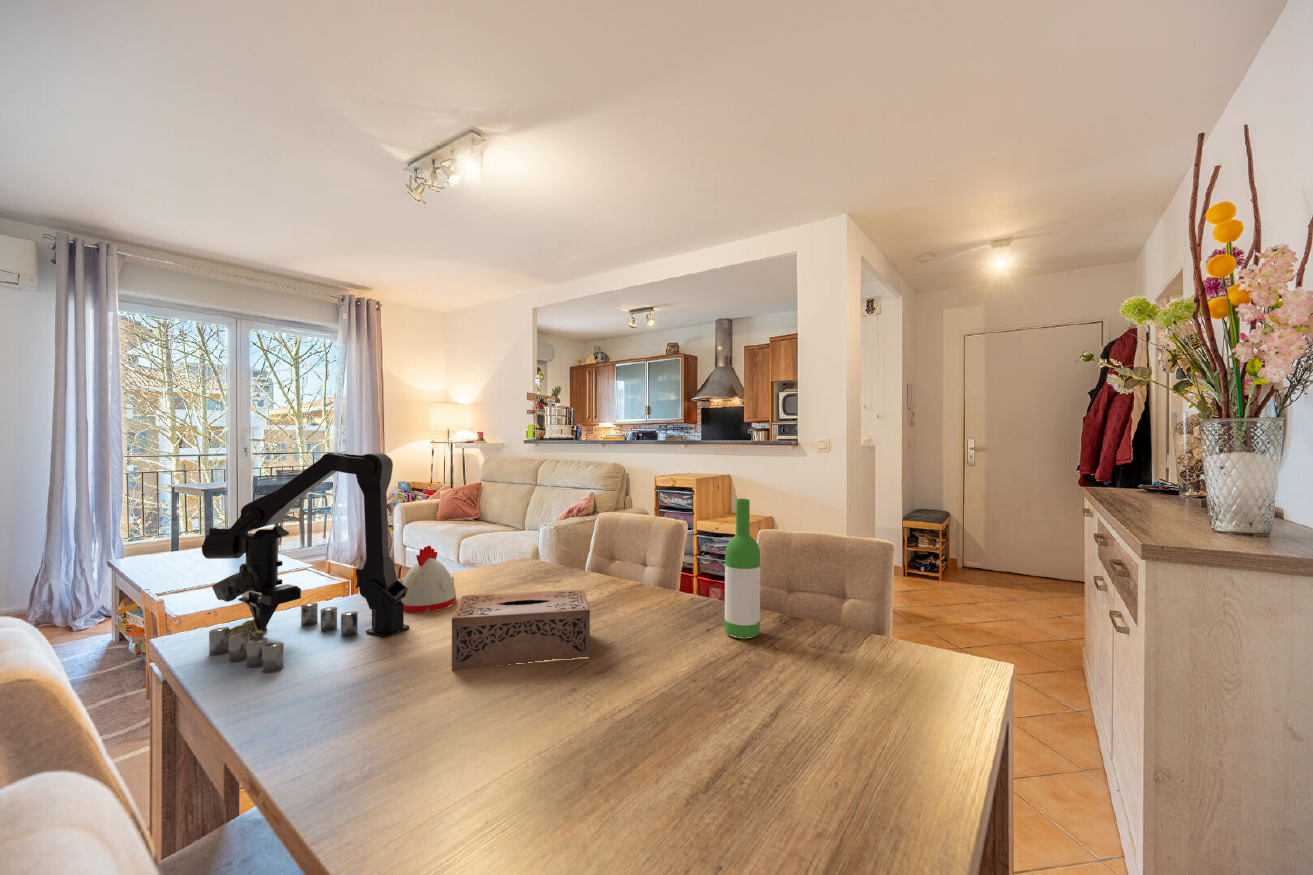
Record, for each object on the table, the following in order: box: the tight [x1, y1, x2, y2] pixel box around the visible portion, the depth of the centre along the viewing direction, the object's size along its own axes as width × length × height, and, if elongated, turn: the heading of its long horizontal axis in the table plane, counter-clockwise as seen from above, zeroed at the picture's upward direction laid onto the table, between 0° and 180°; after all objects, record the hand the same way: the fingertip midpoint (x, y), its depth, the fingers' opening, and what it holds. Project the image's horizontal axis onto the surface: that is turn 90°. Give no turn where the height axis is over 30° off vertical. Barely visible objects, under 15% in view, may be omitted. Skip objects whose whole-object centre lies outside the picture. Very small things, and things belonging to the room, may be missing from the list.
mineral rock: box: [230, 618, 268, 640], centre depth 117 cm, size 11×4×8 cm
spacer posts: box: [208, 602, 359, 674], centre depth 113 cm, size 21×21×4 cm
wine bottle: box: [724, 498, 761, 638], centre depth 120 cm, size 8×8×30 cm
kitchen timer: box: [399, 545, 457, 613], centre depth 141 cm, size 14×14×15 cm
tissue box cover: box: [451, 588, 591, 671], centre depth 111 cm, size 26×14×10 cm, turn 102°
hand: (261, 629), depth 118 cm, fingers closed
